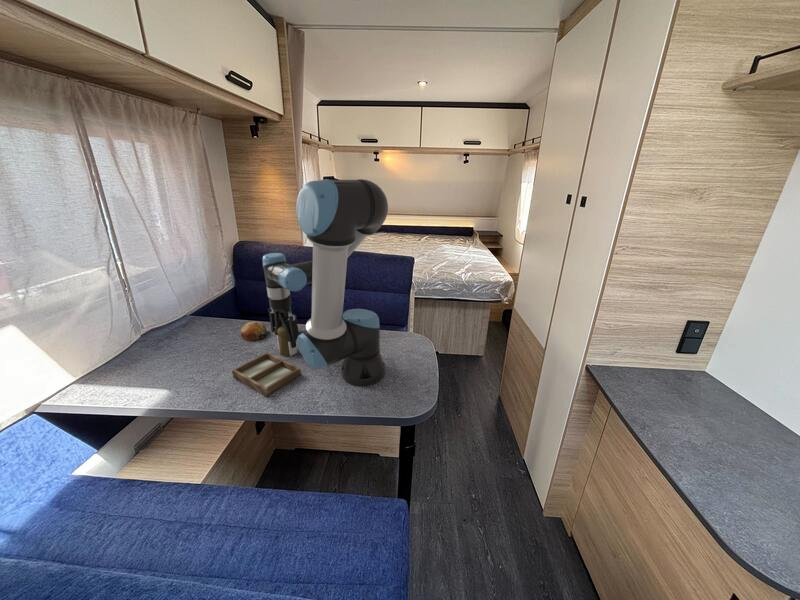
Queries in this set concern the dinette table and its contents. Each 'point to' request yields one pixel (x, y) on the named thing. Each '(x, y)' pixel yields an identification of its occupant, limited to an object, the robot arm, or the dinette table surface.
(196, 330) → the dinette table surface
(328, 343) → the robot arm
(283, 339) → the olive rounded lobed piece
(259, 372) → the tray
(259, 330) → the bread roll
